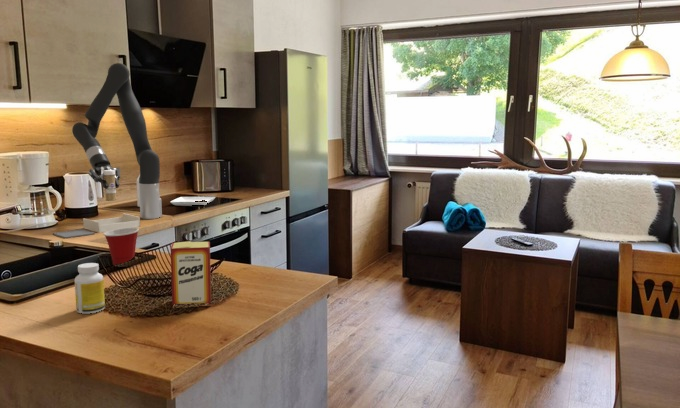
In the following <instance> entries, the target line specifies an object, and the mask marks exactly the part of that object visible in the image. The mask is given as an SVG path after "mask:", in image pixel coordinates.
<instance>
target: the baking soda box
mask: <svg viewBox="0 0 680 408" xmlns="http://www.w3.org/2000/svg"><path fill="white" fill-rule="evenodd" d="M170 269H171V271H170V272H171V273H170V274H171V300H172V301H171V302H172V303H171V304H172V305H174V304H175V305H176V304H191V303H211V304H212V288H211V287H212V281H211V242H210V241H190V240H189V241H181V242H179V241H178V242H172V243H171V246H170Z"/></svg>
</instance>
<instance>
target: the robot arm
mask: <svg viewBox="0 0 680 408" xmlns="http://www.w3.org/2000/svg"><path fill="white" fill-rule="evenodd" d="M130 74H131V73H130V70H129V68H128V66H126V65H125V64H123V63H120V62H117V63H116V62H115V63H113V64H111V65H110V66H109V68H108V69H107V75H106V77H105V78H106V79H105V80H104V83H103V84H102V87H101V89H100V90H99V92H98V93H97V95H96V96H95V98H94V99H93V100H92V102H91V104H90V105H89V107H88V109H87V110H86V112H85V114H84V116H85V118H86V119H87V121H88V123H87V124H86V123H84V122H82V121H81V122H79V121H78V122H76V123H75V124H73V126H72V130H71V131H72V134H73V136H74V138H75V140H76V141H77V142H78V143H79V144H80V145H81V147H82V148H83V151H84V153H85V154H86V157H87V160H88V161H89V164H90V166H91V167H92V168H90V169H89V171H88V174H87V175H89V176H90V177H91V179H93V181H94V182H95V183H100V184H101V185H102V187H103V188H104V190H105V189H107V188H108V184H107V182H106V180H105V178H104V170H115V185H116V189H118V188H119V187H120V182H119V181H120V178H121V170H120V169H121V168H120V167H113V166H112V165H111V162H110V160H109V158H108V157H107V154H106V153H105V151H104V148H102V146H101V143H100V142H99V140H97V139H96V137H97V135H98V134H99V133H98V132H99V129H100V123H101V121H102V119H103V118H104V116H105V114H106V113H107V110H108V109H109V107H110V105H111V103H112V101H113V99H114V97H115V96H117V100H118V105H119V109H120V113H121V115H122V119H123V123H124V124H125V127H126V130H127V133H128V135H129V137H130V140H131V142H132V144H133V148H134V152H135V156H136V157H135V158H136V161H137V164H138V166H139V175H140V177H139V176H138V177H139V191H140V207H139V211H140V213H139V214H140V219H142V220H154V219H155V220H156V219H159V217H160V218H162V217H163V212H162V211H163V210H162V209H163V208H162V207H163V206H162V198H161V197H160V176H161V171H160V169H161V168H160V167H161V166H160V165H161V163H160V157H159V155H158V153H156V152H155V151H153V149H152V146H151V144H150V142H149V138H148V133H147V132H148V131H147V130H148V129H147V124H146V120H145V117H144V113H143V110H142V108H141V106H140V103H139V102H138V99H137V98H136V96H135V93H134V91H133V89H132V85H131V80H130ZM161 216H162V217H161Z"/></svg>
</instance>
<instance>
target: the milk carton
mask: <svg viewBox="0 0 680 408" xmlns="http://www.w3.org/2000/svg"><path fill="white" fill-rule="evenodd" d="M139 177H140V174H139V175H138V177H137V178H136V197H137V200H136V202H137V203H136V204H137V205H136V206H137V207H139V208H140V191H139Z"/></svg>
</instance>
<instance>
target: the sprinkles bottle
mask: <svg viewBox="0 0 680 408" xmlns="http://www.w3.org/2000/svg"><path fill="white" fill-rule="evenodd" d="M115 175H116V174H115V170H104V180H106V182H107V184H108V188H107V189H105V188H104V193H105V201H107V202H115V201H117V200H118V199H117V188H116V185H115Z"/></svg>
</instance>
